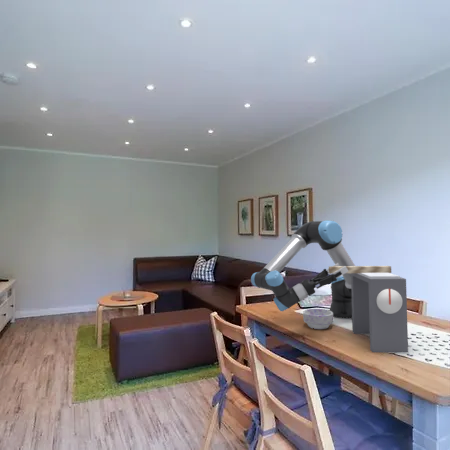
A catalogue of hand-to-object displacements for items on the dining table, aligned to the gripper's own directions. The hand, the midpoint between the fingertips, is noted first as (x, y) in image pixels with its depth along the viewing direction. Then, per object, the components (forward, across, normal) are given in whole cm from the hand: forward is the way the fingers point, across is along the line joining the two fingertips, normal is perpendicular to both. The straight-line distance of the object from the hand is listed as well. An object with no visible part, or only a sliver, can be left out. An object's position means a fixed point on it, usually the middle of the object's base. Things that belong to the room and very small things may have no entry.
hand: (343, 266), depth 160 cm
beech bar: (+5, 0, -6) cm, 8 cm away
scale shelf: (-6, +7, -35) cm, 36 cm away
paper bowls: (-25, -16, -24) cm, 38 cm away
